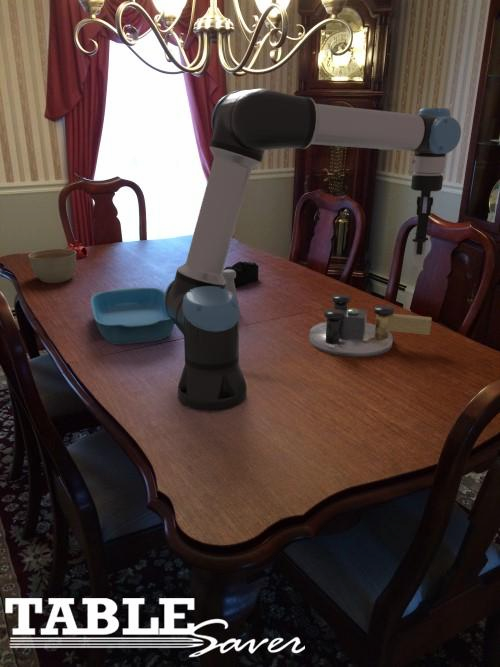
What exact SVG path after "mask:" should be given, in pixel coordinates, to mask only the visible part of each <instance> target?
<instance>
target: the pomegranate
mask: <svg viewBox="0 0 500 667" xmlns="http://www.w3.org/2000/svg"><path fill="white" fill-rule="evenodd" d="M73 241H74V245H73V244H72V243H70V242H68V243H67V244H66V247H65V248H64V249H70V250H74V251H76V253H77V254H76V260H83V259H86V258H88V257H89V253H88V252H89V251H88V249H87V248H86V247H85V246H82V243H78V244H77V242H78V240H77V239H75V240H73Z"/></svg>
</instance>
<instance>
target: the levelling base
mask: <svg viewBox="0 0 500 667" xmlns="http://www.w3.org/2000/svg"><path fill="white" fill-rule="evenodd" d="M351 299H352V298H351V296H350V295H348V294H343V293H342V294H341V293H339V294H337V293H336V294H333V295H331V301H332V302H333V303H334V304H333V308H331V309H330V308H329V309H326V310H324V312H323V317H324V318H326V321H324V322H320V323H318V324H316V325H313V326H312V327H311V328H310V330H309V342H310V344H311V345H312V346H313V347H315V348H316V349H318V350H320V351H321V352H325V353H328V354H330V355H331V354H332V355H335V356H339V357H347V358H368V357H370V358H371V357H375V356H380V355H383V354H385V353H387V352H389V351H390V350H391V349H392V347H393V341H394V340H393V339H394V337H393V334H392V333H391V331H389V335H388V338H386V339H380V338H376V337H375V336H374V335H375V325H376V324H373V323H369V322H367V316H368V315H367V314H368V310H367V309H358V308H353V307H352V308H348V303H350V302H351V301H352V300H351Z"/></svg>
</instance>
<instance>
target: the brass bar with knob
mask: <svg viewBox="0 0 500 667" xmlns="http://www.w3.org/2000/svg"><path fill="white" fill-rule="evenodd" d="M373 313H374V314H376V315H375V316H376V317H375V324H374V325H375V335H374V336H375V337H376V338H380V339H386V338H388V335H389V332H397V333H408V334H416V335H417V334H418V335H424V336H425V335H426V336H430V335H431V329H432V328H431V327H432V317H431V316H423V315H411V314H403V313H402V314H401V313H399V314H398V313H395V308H394V307H393V306H392V305H383V304H382V305H380V304H379V305H375V306H374V307H373Z"/></svg>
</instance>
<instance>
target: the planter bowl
mask: <svg viewBox="0 0 500 667" xmlns="http://www.w3.org/2000/svg"><path fill="white" fill-rule="evenodd" d="M76 254H77V253H76V251H74V250H70V249H65V248H51V249H50V248H49V249H48V248H47V249H42V250H37V251H33V252H31V253H29V254H28V260H29V263H30V267H31V269H32V271H33V273H34V274H35V275H36V277H37V278H38V279H39V280H40V281H41V282H43V283H45V284H46V283H47V284H48V283H49V284H58V283H64V282H66V281H69V280H70V279H71V278H72V277H73V275H74V273H75V270H76V266H77V259H76Z"/></svg>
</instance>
